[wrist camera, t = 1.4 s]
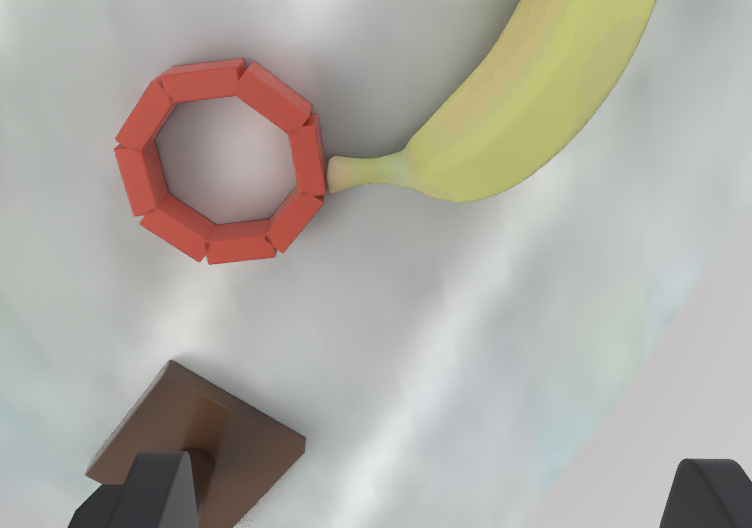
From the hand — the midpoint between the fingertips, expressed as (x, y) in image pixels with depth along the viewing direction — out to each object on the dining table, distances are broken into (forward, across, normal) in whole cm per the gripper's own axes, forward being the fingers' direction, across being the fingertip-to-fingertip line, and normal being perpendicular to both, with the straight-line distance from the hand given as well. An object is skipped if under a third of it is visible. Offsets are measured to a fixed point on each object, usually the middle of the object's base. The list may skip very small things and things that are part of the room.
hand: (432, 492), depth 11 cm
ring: (+22, +7, +2) cm, 23 cm away
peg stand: (+22, +10, +19) cm, 31 cm away
